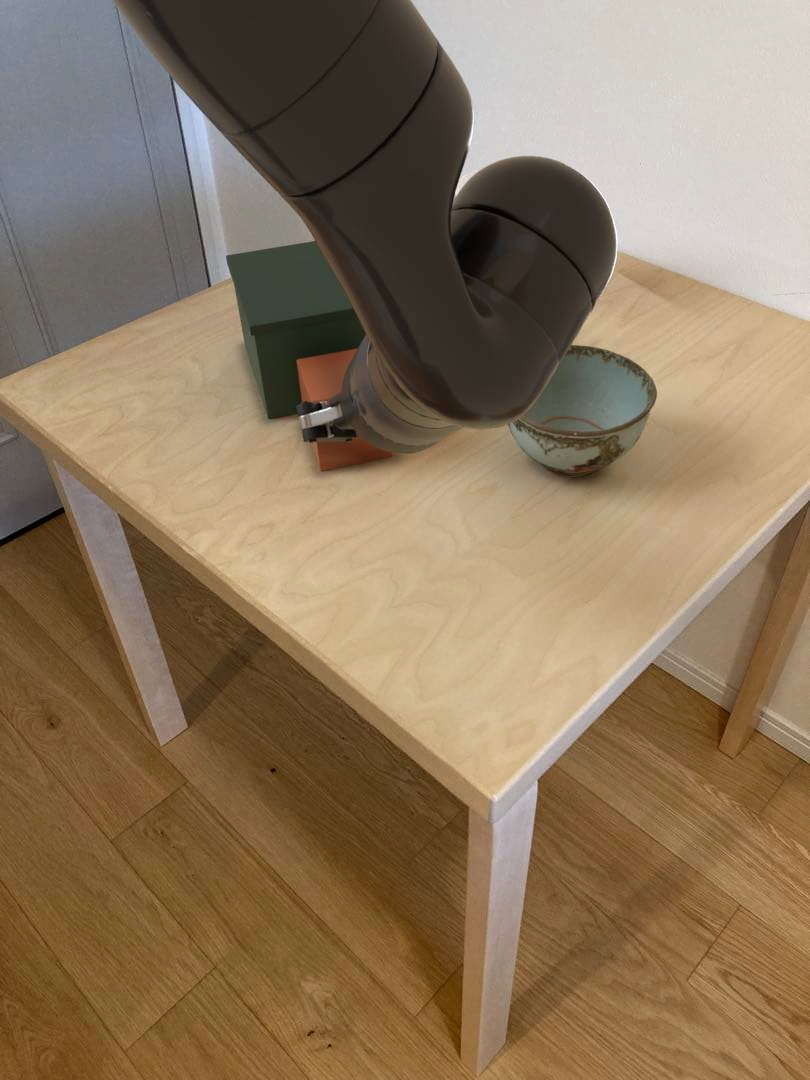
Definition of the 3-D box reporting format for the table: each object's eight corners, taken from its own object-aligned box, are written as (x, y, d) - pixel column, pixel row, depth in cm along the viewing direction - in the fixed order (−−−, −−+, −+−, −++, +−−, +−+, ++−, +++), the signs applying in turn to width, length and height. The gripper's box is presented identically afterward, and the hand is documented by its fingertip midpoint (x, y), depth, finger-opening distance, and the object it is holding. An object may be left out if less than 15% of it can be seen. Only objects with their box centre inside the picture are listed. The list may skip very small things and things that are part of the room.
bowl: (616, 522, 78) (630, 450, 72) (474, 479, 82) (476, 409, 77) (659, 433, 86) (674, 363, 81) (528, 399, 91) (534, 330, 85)
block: (320, 471, 84) (311, 401, 78) (305, 428, 88) (296, 359, 83) (392, 457, 85) (388, 387, 79) (373, 414, 90) (369, 345, 84)
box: (265, 421, 89) (249, 326, 82) (242, 345, 99) (225, 255, 92) (405, 393, 92) (402, 299, 85) (368, 322, 102) (362, 232, 95)
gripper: (508, 297, 53) (441, 363, 70) (288, 336, 50) (274, 394, 67) (535, 421, 53) (462, 457, 70) (317, 466, 50) (296, 492, 67)
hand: (369, 426), depth 69 cm, fingers closed
